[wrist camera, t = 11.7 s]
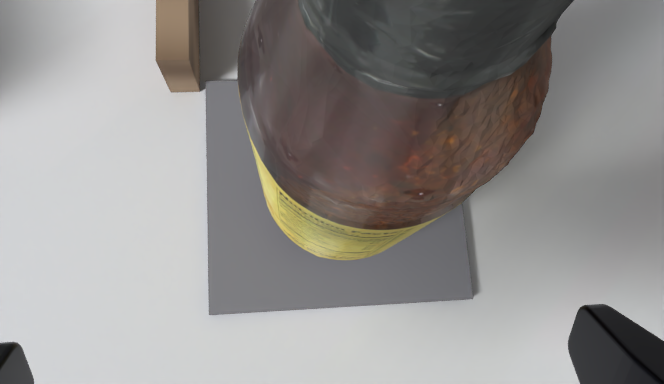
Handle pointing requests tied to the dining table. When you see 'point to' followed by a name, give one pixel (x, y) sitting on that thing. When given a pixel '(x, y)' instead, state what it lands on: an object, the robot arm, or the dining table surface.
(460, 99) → the sauce bottle
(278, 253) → the rubber mat
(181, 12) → the bottle holder
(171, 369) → the dining table surface
